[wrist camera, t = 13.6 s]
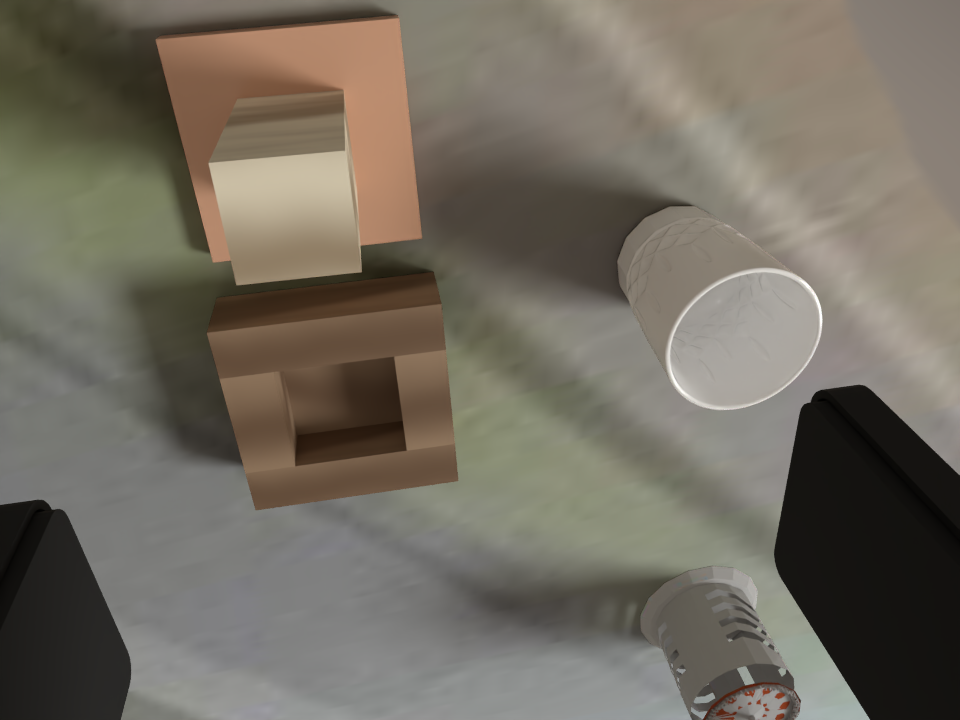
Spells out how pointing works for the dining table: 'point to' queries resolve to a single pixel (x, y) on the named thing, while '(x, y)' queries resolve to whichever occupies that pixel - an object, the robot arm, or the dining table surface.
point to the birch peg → (288, 188)
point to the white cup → (717, 308)
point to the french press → (719, 646)
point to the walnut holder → (337, 388)
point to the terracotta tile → (293, 70)
